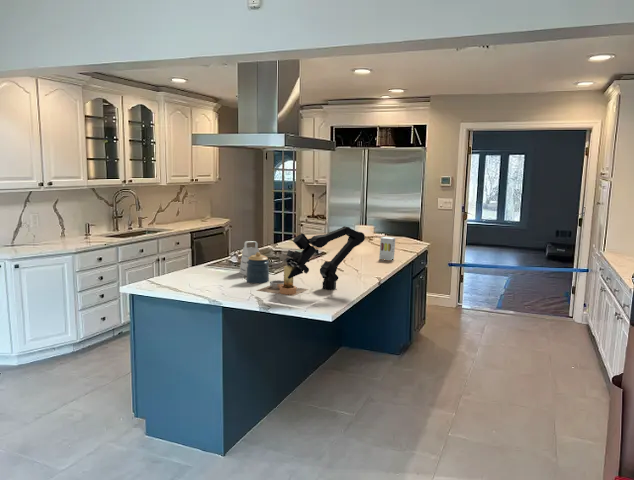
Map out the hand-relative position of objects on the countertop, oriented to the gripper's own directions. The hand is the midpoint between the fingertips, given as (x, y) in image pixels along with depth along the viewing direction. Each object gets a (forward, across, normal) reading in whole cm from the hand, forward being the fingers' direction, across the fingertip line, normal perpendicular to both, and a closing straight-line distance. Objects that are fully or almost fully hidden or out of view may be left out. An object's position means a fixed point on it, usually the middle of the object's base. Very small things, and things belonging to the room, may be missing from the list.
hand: (286, 277), depth 268 cm
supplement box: (-74, -72, +89) cm, 137 cm away
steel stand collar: (+5, -12, +6) cm, 15 cm away
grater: (+6, -56, +8) cm, 57 cm away
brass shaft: (+3, 0, +5) cm, 6 cm away
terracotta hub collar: (+5, 0, +7) cm, 8 cm away
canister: (+9, -31, +4) cm, 33 cm away
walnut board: (+6, -6, +7) cm, 11 cm away
